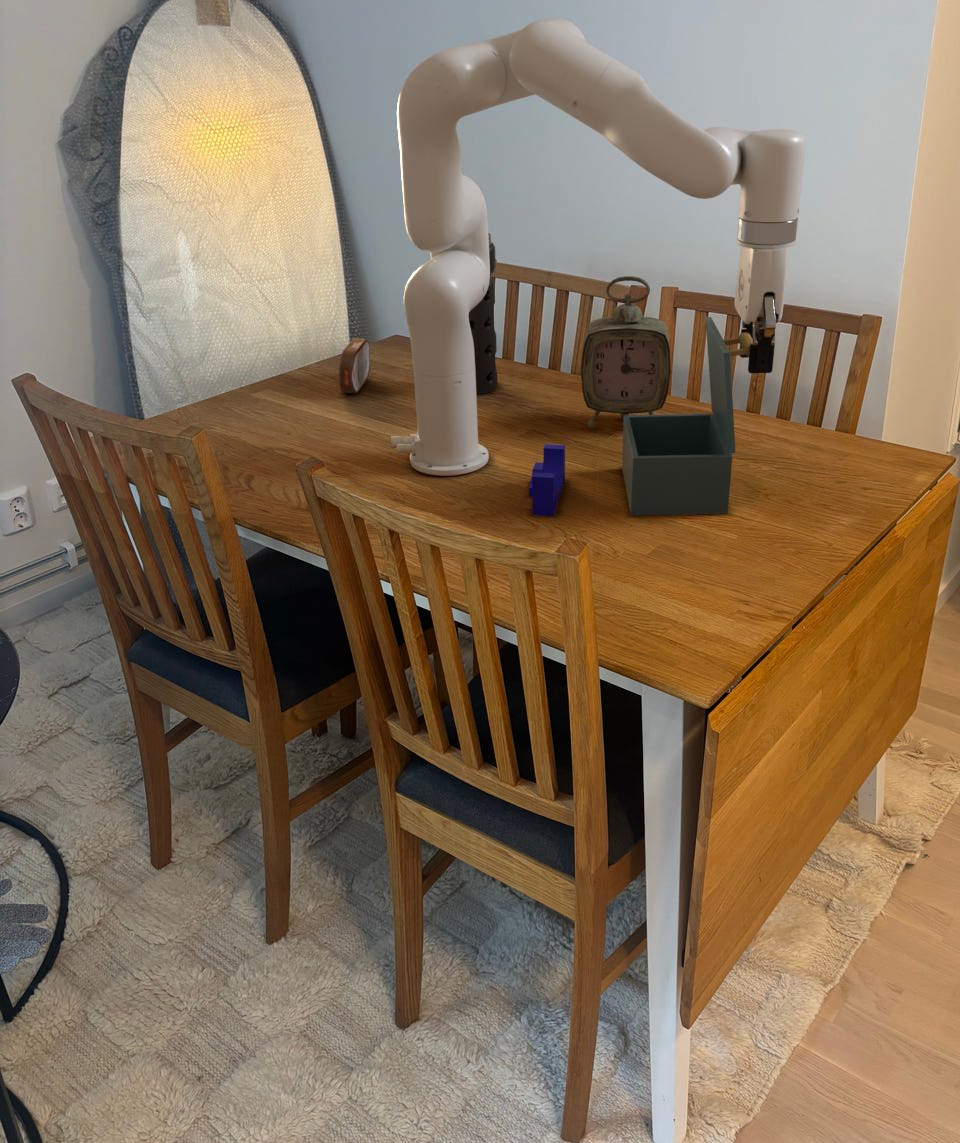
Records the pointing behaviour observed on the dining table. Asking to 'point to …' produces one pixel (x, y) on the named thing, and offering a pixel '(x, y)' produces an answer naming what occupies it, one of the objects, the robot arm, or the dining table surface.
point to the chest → (675, 465)
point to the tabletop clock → (625, 360)
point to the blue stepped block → (548, 480)
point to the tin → (354, 365)
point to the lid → (723, 378)
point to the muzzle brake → (485, 334)
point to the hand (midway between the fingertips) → (755, 363)
